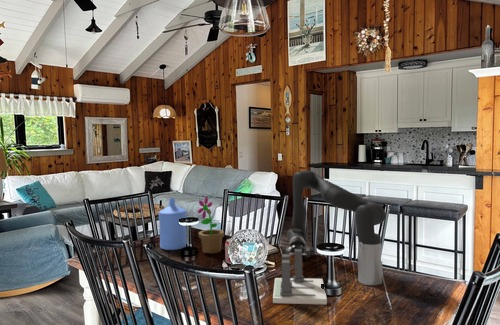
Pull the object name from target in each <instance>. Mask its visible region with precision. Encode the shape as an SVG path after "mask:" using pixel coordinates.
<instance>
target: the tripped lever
mask: <svg viewBox="0 0 500 325" xmlns="http://www.w3.org/2000/svg"><path fill="white" fill-rule="evenodd" d="M292 278H293V281H298V282H304V278H305V276H304V275H303V254H302V249H295V255H294V275H293V276H292Z"/></svg>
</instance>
